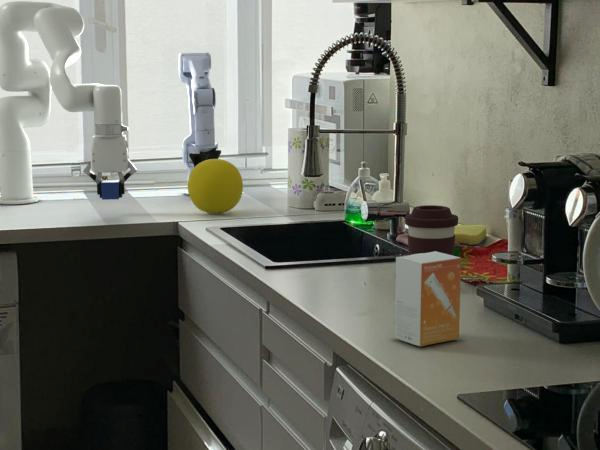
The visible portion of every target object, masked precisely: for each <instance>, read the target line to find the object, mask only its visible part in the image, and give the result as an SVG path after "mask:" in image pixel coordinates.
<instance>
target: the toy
mask: <svg viewBox="0 0 600 450" xmlns="http://www.w3.org/2000/svg"><path fill="white" fill-rule="evenodd" d="M242 177H243V176H242V175H241V172H240V170H239V169H238V168H237V167H236V166H235V165H234V164H233V163H231V162H230V161H228V160H225V159H221V158H218V159H209V160H205V161H203V162H201V163H199V164H198V165H196V166H195V167H194V168H193V170H192V171H191V173H190V176H189V179H188V178H187V192H188V193H189V194H188V197H189V199H190V201H191V202H192V204H193V205H194V206H195V207H196V208H197V209H199V210H200V211H202V212H204V213H208V214H214V215H215V214H223V213H227V212H229V211H231V210H233V208H235V207H236V206H237V205H238V203H239V202H240V200H241V198H242V195H243V191H244V183H243V178H242Z"/></svg>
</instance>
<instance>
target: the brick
mask: <svg viewBox="0 0 600 450" xmlns="http://www.w3.org/2000/svg"><path fill="white" fill-rule="evenodd" d="M119 181H120V179H105V180H104V179H103V180H102V182H101V188H102V198H101V200H102V201H103V200H119V199H120V197H119Z"/></svg>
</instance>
